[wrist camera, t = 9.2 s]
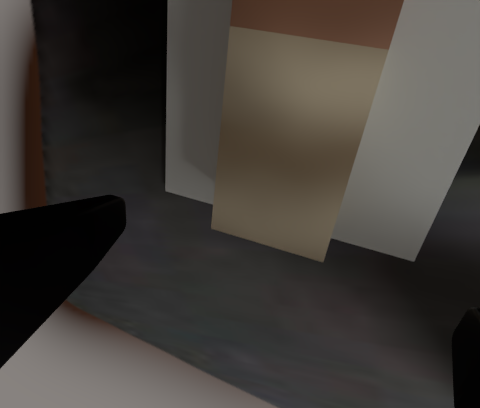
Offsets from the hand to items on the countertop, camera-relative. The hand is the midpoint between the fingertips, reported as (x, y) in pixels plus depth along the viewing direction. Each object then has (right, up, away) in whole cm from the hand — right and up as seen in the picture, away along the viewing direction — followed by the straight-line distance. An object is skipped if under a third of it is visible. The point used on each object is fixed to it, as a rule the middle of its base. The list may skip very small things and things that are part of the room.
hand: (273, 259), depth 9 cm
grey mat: (+3, +7, +10) cm, 12 cm away
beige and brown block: (+2, +6, +9) cm, 11 cm away
